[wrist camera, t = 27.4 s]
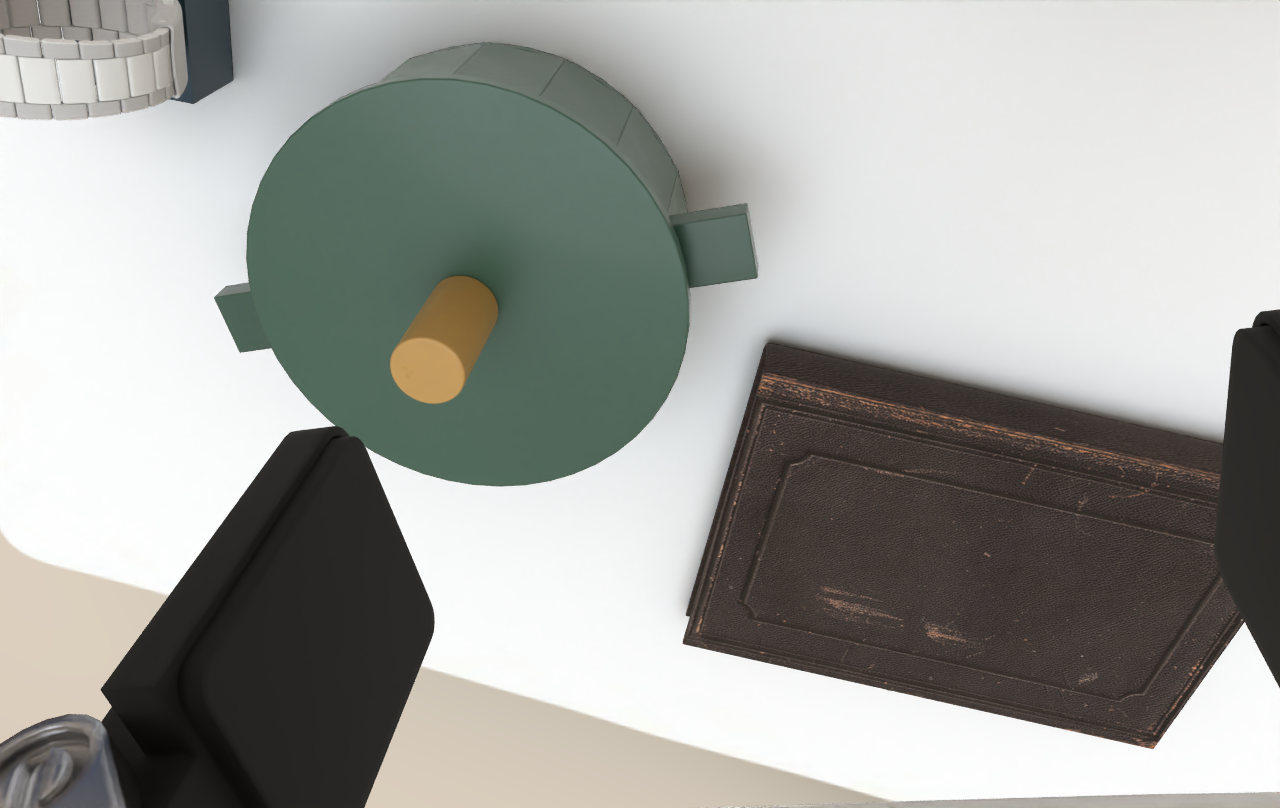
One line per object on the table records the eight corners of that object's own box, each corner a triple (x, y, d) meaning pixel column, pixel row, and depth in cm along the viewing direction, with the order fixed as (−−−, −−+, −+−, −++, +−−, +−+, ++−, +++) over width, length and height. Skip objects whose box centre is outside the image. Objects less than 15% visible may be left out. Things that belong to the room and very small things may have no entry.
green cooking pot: (210, 96, 39) (127, 145, 34) (723, -10, 35) (713, 29, 30) (344, 412, 47) (292, 490, 42) (783, 357, 43) (782, 436, 38)
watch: (49, -110, 36) (-204, -62, 27) (272, -67, 36) (94, -5, 27) (73, 52, 39) (-147, 143, 30) (278, 91, 39) (121, 196, 30)
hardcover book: (1139, 712, 51) (1153, 750, 49) (686, 611, 51) (682, 645, 49) (1314, 457, 42) (1339, 491, 40) (767, 334, 42) (766, 362, 40)
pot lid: (187, 115, 34) (90, 174, 30) (639, 24, 31) (613, 74, 26) (351, 487, 42) (296, 581, 37) (726, 446, 39) (718, 543, 34)
